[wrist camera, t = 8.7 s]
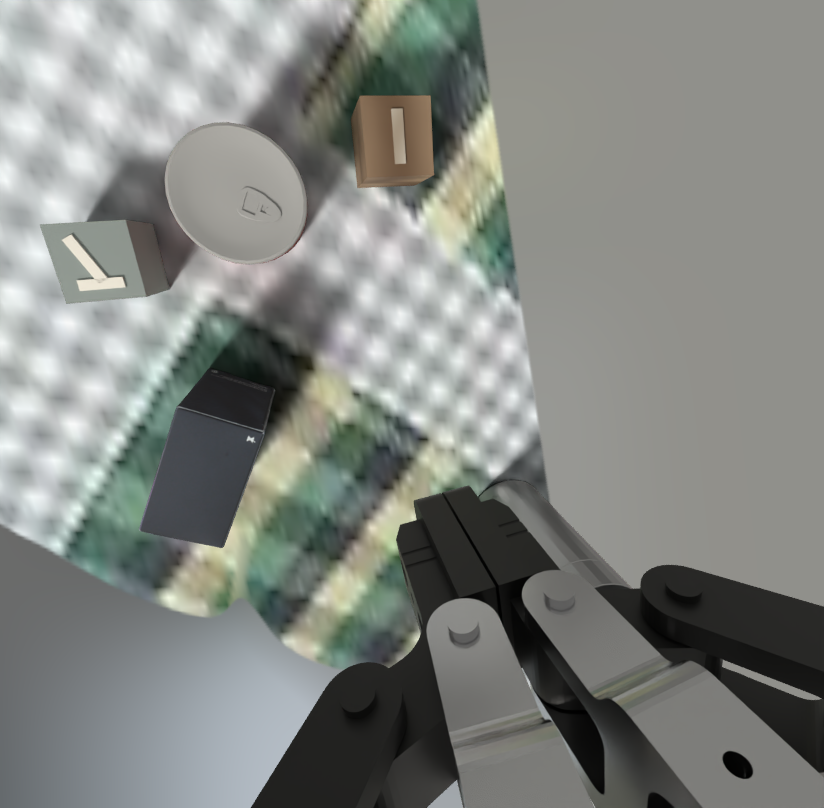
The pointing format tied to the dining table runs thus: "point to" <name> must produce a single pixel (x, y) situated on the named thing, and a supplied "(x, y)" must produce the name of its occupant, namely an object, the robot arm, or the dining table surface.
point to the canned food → (236, 193)
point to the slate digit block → (105, 260)
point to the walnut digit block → (392, 140)
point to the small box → (208, 459)
